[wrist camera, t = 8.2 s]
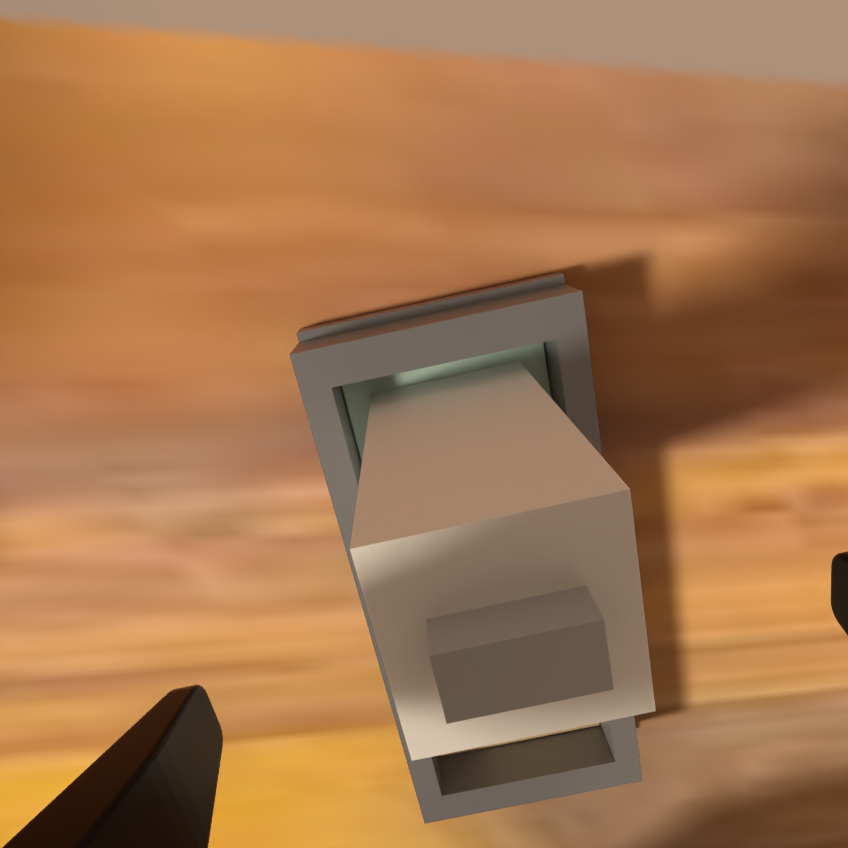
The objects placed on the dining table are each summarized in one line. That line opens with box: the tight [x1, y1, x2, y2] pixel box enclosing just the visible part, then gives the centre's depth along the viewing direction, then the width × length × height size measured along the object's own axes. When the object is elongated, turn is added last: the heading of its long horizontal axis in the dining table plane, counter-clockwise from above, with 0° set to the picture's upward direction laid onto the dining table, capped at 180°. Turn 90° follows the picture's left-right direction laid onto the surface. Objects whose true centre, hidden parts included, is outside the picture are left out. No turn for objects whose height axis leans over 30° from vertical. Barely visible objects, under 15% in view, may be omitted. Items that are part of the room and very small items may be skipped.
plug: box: [350, 361, 656, 761], centre depth 12 cm, size 4×4×9 cm
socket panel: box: [290, 272, 642, 823], centre depth 18 cm, size 16×7×2 cm, turn 12°
